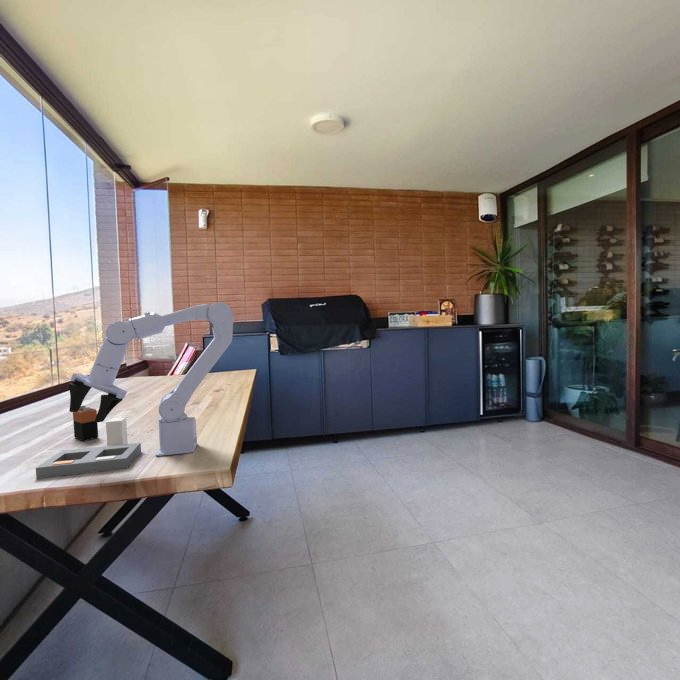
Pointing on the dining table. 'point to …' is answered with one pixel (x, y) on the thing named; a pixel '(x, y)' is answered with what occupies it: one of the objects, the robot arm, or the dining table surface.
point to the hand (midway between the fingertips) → (86, 416)
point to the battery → (85, 423)
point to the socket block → (89, 460)
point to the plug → (116, 431)
